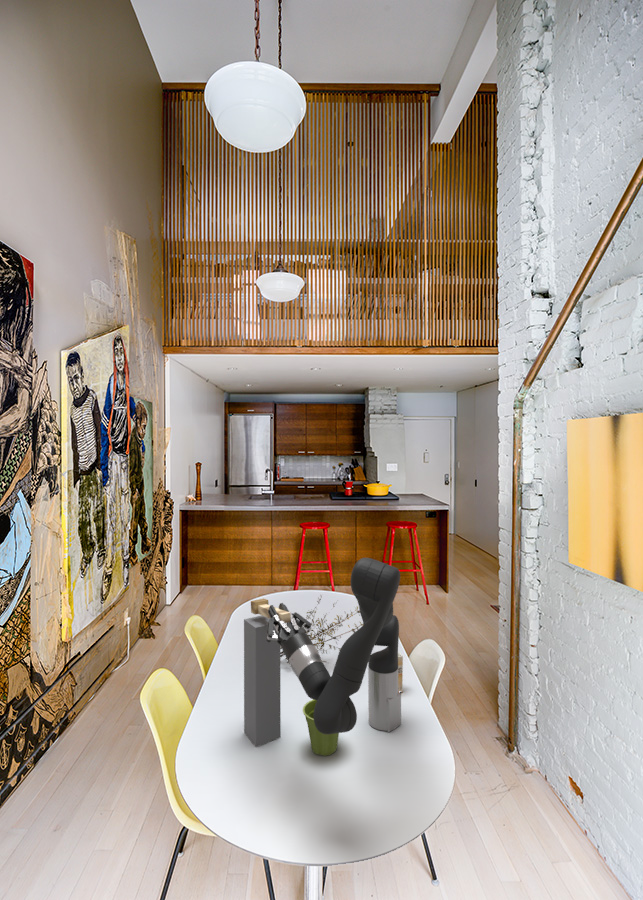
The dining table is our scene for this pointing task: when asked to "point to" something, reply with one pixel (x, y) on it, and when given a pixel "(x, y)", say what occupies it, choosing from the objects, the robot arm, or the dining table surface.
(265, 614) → the hanging bar
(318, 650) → the dried plant
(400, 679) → the supplement box
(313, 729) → the plant pot
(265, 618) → the plinth
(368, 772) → the dining table surface
